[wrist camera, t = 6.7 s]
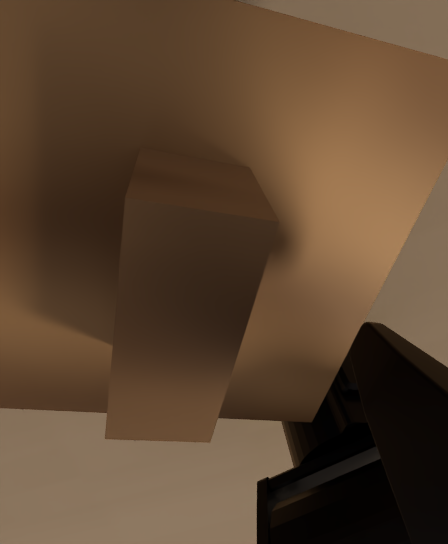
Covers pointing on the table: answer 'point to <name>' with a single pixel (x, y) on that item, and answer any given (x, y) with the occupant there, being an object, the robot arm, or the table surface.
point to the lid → (199, 205)
